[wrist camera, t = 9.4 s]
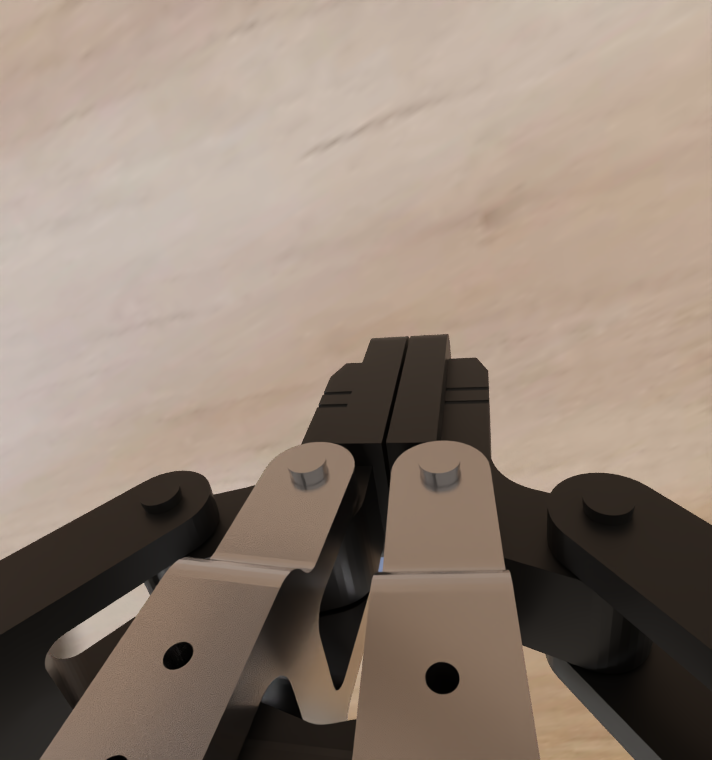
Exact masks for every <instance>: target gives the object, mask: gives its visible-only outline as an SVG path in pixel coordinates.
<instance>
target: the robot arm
mask: <svg viewBox="0 0 712 760" xmlns="http://www.w3.org/2000/svg"><path fill="white" fill-rule="evenodd" d="M381 557H384V560H383V570H382V572H378V570H379V565H380V560H381ZM142 583H145V586H146V588H147V590H148V592H149V594H150V597H149V598H148V600H147V601H146V603H145V604H144V606H143V607H142V608H141V610H140V611H139V613H138V614H137V616H136V617H134V618H133V619H131V620H130V621H128V622H127V623H125V624H124V625H122V626H121V627H119V628H118V629H116V630H115V631H113V632H112V633H110V634H109V635H107V636H106V637H104V638H103V639H101V640H100V641H98V642H97V643H95V644H94V645H92V646H91V647H89V648H88V649H87V650H85V651H84V652H82V653H80V654H79V655H77V656H74V657H72V658H68V659H57V658H54V657H52V656H51V655H50V654H49V652H48V651H49V649H50V648H51V646H52V645H53V644H54V642H55V641H56V640H57V639H58V638H60V637H61V636H62V635H64V634H65V633H66V632H68V631H70V630H71V629H73V628H74V627H76V626H77V625H79V624H80V623H82V622H83V621H85V620H87V619H88V618H90V617H91V616H93V615H94V614H96V613H97V612H99V611H101V610H102V609H104V608H105V607H107V606H108V605H110V604H111V603H113V602H114V601H116V600H118V599H119V598H121V597H122V596H124V595H125V594H127V593H128V592H130V591H132V590H133V589H135V588H136V587H138V586H139V585H141V584H142ZM522 645H523V646H526V647H528V648H531V649H534V650H537V651H539V652H542V653H545V654H546V658H547V660H548V663H549V665H550V667H551V668H552V670H553V672H554V673H555V674H556V675H557V677H558V678H559V679H560V680H561V681H562V682H563V683H564V684H565V685H566V686H567V687H568V689H569V690H570V691H571V692H572V693H573V694H574V695H575V696H576V697H577V698H578V699H579V700H580V701H581V702H582V704H583V705H584V706H585V707H586V708H587V709H588V710H589V711H590V712H591V713H592V714H593V715H594V716H595V718H596V719H597V720H598V721H599V722H600V723H601V724H602V725H603V726H604V727H605V728H606V729H607V730H608V731H609V733H610V734H611V735H612V736H613V737H614V738H615V739H616V740H617V741H618V742H619V743H620V744H621V745H622V746H623V748H624V749H625V750H626V751H627V752H628V753H629V754H630V755H631V756H632V757H633V758H634V759H635V760H712V525H711V524H709V523H707V522H706V521H704V520H702V519H701V518H699V517H697V516H696V515H694V514H692V513H691V512H689V511H688V510H686V509H684V508H683V507H681V506H679V505H678V504H676V503H674V502H673V501H671V500H669V499H668V498H666V497H664V496H663V495H661V494H659V493H658V492H656V491H654V490H653V489H651V488H650V487H648V486H646V485H644V484H642V483H640V482H638V481H636V480H633V479H631V478H627V477H624V476H620V475H615V474H609V473H587V474H580V475H577V476H573V477H570V478H568V479H566V480H564V481H562V482H561V483H559V484H558V485H557V486H556V487H555V488H554V489H553V490H552V492H551V493H547V492H543V491H538V490H534V489H531V488H527V487H524V486H522V485H519V484H517V483H515V482H513V481H511V480H509V479H508V478H506V477H505V476H504V475H502V474H501V473H500V472H499V471H498V470H497V468H496V467H495V465H494V464H493V462H492V459H491V432H490V406H489V381H488V370H487V369H486V368H485V367H484V366H483V365H482V363H481V362H480V361H479V360H478V359H477V358H458V359H451V352H450V341H449V335H448V334H442V335H423V336H411V337H410V338H409V337H408V336H406V337H388V338H372V339H371V341H370V343H369V346H368V349H367V352H366V354H365V357H364V360H363V363H347V364H345V365H344V366H343V367H342V368H341V369H340V370H338V371H337V372H336V373H335V374H334V375H332V376H331V378H330V380H329V382H328V384H327V387H326V389H325V391H324V395H323V396H322V398H321V400H320V403H319V408H317V409H316V412H315V414H314V416H313V419H312V421H311V423H310V425H309V428H308V430H307V432H306V435H305V437H304V439H303V441H302V444H301V445H298V446H295V447H292V448H290V449H288V450H286V451H284V452H282V453H281V454H279V455H278V456H276V457H275V458H274V459H273V460H272V461H271V462H270V463H269V464H268V466H267V467H266V469H265V470H264V472H263V474H262V475H261V477H260V478H259V480H258V482H257V483H256V485H254V486H250V487H247V488H242V489H238V490H233V491H229V492H224V493H220V494H215V495H213V493H212V490H211V487H210V484H209V482H208V480H207V479H206V478H205V477H204V476H203V475H201V474H199V473H196V472H192V471H174V472H169V473H165V474H161V475H158V476H156V477H153V478H151V479H149V480H147V481H145V482H143V483H141V484H139V485H137V486H136V487H134V488H132V489H130V490H128V491H126V492H125V493H123V494H121V495H119V496H117V497H115V498H114V499H112V500H110V501H108V502H106V503H105V504H103V505H101V506H99V507H97V508H95V509H94V510H92V511H90V512H88V513H86V514H84V515H83V516H81V517H79V518H77V519H75V520H73V521H72V522H70V523H68V524H66V525H64V526H62V527H61V528H59V529H57V530H55V531H53V532H52V533H50V534H48V535H46V536H44V537H42V538H41V539H39V540H37V541H35V542H33V543H31V544H30V545H28V546H26V547H24V548H22V549H20V550H19V551H17V552H15V553H13V554H11V555H9V556H8V557H6V558H4V559H2V560H0V760H540V755H539V748H538V742H537V736H536V729H535V723H534V717H533V710H532V704H531V698H530V691H529V685H528V679H527V672H526V666H525V660H524V653H523V647H522ZM363 652H364V654H363ZM362 656H363V663H362V672H361V682H360V691H359V701H358V710H357V719H355V720H349V721H347V718H348V710H349V705H350V700H351V697H352V693H353V689H354V685H355V682H356V678H357V674H358V671H359V667H360V663H361V660H362Z"/></svg>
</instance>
